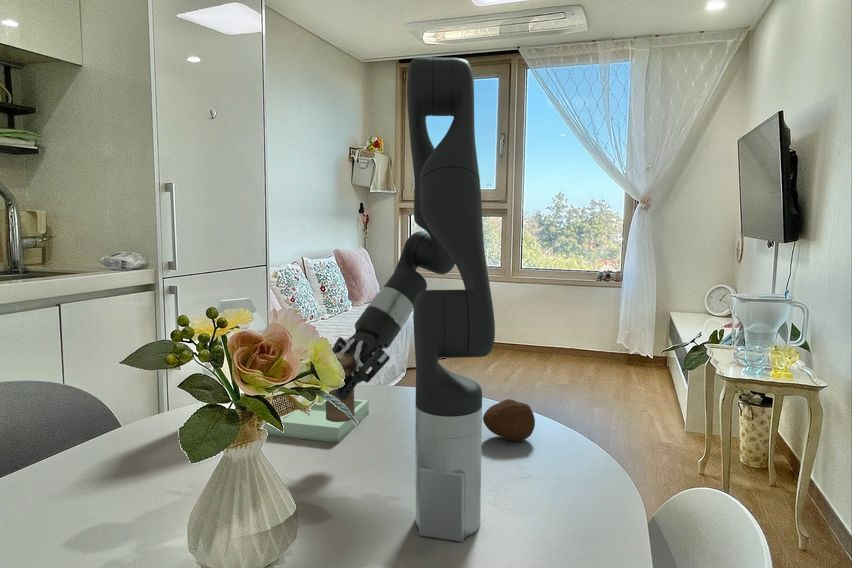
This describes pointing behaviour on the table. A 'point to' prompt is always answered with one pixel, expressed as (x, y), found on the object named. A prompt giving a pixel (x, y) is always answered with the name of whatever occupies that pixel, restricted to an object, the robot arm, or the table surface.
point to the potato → (510, 420)
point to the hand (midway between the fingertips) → (330, 393)
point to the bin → (319, 424)
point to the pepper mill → (332, 411)
